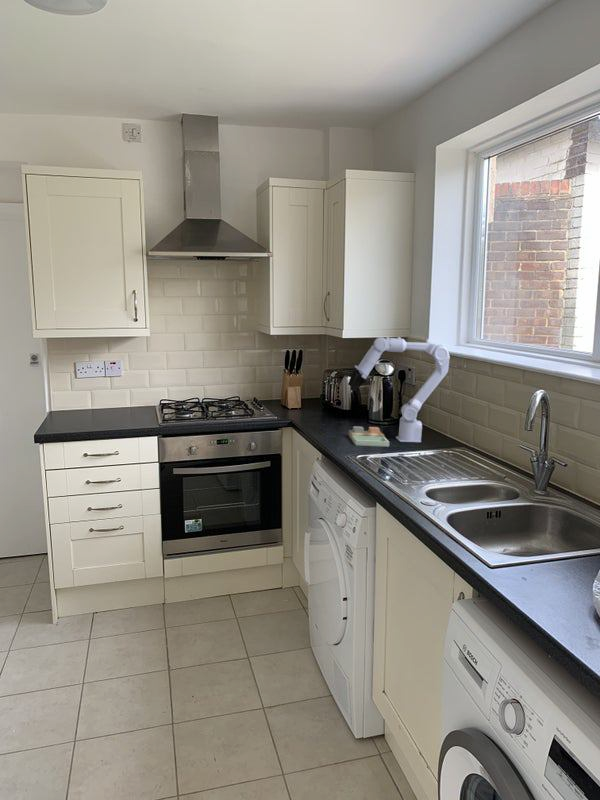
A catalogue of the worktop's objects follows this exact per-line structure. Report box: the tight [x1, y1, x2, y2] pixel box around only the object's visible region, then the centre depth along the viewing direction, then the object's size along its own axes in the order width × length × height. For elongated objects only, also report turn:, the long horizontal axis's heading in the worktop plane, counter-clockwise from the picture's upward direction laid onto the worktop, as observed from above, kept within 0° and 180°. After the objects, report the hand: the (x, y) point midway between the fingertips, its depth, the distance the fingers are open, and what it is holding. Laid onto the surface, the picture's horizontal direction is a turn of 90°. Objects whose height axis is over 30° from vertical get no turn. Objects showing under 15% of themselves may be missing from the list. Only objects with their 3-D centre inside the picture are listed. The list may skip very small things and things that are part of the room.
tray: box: [351, 436, 390, 447], centre depth 255 cm, size 14×9×2 cm, turn 95°
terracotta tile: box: [368, 426, 381, 434], centre depth 265 cm, size 4×4×2 cm
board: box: [348, 429, 385, 441], centre depth 264 cm, size 14×8×2 cm, turn 95°
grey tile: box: [352, 425, 365, 433], centre depth 264 cm, size 4×4×2 cm
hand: (351, 387), depth 265 cm, fingers open, 7 cm apart
